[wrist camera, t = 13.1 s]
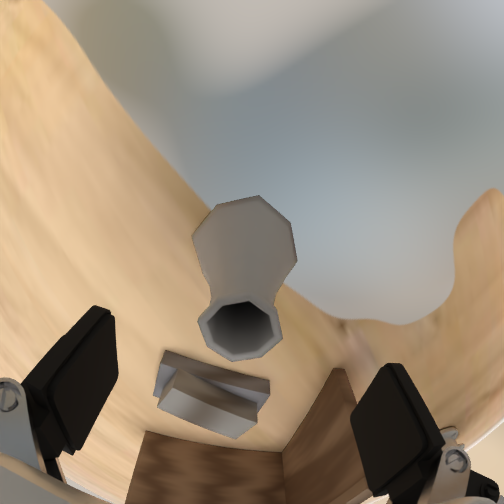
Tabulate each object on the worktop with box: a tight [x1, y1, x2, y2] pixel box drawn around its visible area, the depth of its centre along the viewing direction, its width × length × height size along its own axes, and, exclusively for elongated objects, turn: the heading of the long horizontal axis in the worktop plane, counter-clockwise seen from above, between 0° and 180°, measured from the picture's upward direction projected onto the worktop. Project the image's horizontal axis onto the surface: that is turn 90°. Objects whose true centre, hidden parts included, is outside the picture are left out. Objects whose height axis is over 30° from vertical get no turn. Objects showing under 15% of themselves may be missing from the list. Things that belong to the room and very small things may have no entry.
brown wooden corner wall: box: [125, 368, 373, 504], centre depth 20 cm, size 19×18×13 cm
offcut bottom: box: [153, 350, 270, 413], centre depth 24 cm, size 10×5×2 cm, turn 69°
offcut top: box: [157, 368, 257, 439], centre depth 22 cm, size 8×4×2 cm, turn 56°
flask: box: [192, 195, 297, 362], centre depth 15 cm, size 7×7×10 cm
